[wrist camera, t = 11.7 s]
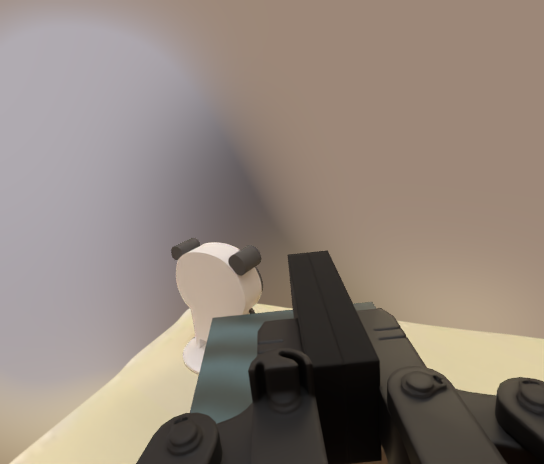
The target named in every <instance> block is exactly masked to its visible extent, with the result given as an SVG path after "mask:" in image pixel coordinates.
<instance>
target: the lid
mask: <svg viewBox="0 0 544 464" xmlns="http://www.w3.org/2000/svg"><path fill="white" fill-rule="evenodd" d="M353 305H354V307H355V309H356V311H357V310H367V309H376V307H375V306H374V304H373V302H366V303H356V304H353ZM292 318H294V316H293V310H285V311H275V312H265V313H255V314H245V315H235V316H225V317H215V318H212V322H211V326H210V330H209V335H208V339H207V343H206V347H205V351H204V356H203V360H202V364H201V368H200V372H199V376H198V381H197V385H196V389H195V393H194V397H193V402H192V406H191V410H190V413H197V412H198V413H202V414H205V415H208V416H210V417H211V418H212V419H213V420H214V421H216V424H217V423H220V422H222V421H225V420H228V419H230V418H232V417H234V416H237V415H239V414H240V413H241V412H243V411H244V410H246V409H247V408H248V406H249V405H250V404H251V403H252V395H251V388H250V381H249V374H248V369H249V366H250V364H251V362H252V361H253V360H254V359H255V358H256V357H257V345H258V344H257V334H258V330H259V329H260V327H261V326H262V324H263V323H264V321H273V320H282V319H292Z"/></svg>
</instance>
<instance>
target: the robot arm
mask: <svg viewBox="0 0 544 464" xmlns="http://www.w3.org/2000/svg"><path fill="white" fill-rule="evenodd" d="M288 264H289V273H290V284H291V295H292V305H293V316H294V318H292V319H282V320H273V321H264V323H263V324H262V326H261V327H260V329H259V330H258V334H257V344H258V345H257V357H256V358H255V359H254V360H253V361H252V362H251V364H250V366H249V369H248V374H249V381H250V388H251V395H252V403H251V404H250V405H249V406H248V408H247V409H246V410H244V411H243V412H241V413H240V414H239V415H237V416H234V417H232V418H230V419H228V420H225V421H222V422H220V423H217V424H216V421H214V420H213V419H212V418H211V417H210V416H208V415H205V414H202V413H198V412H197V413H185V414H182V415H179V416H177V417H174V418H172V419H171V420H169V421H168V422H166V423H165V424H163V425H162V426H161V427H160V428H159V429H158V431H157V432H156V433H155V434H154V435H153V437H152V439H151V440H150V442H149V443H148V445H147V447H146V448H145V450H144V452H143V453H142V455H141V457H140V458H139V460H138V461H137V463H136V464H353V463H363V462H373V461H382V453H381V444H382V447H383V449H384V452H385V455H386V458H387V460H388V464H544V382H543V381H540V380H537V379H531V378H522V377H519V378H511V379H507V380H506V381H504V382H502V383H500V385H499V388H498V390H497V396H495V395H487V394H480V393H472V392H467V391H462V390H458V389H455V388H454V386H453V385H452V383H451V382H450V381H449V380H448V379H447V378H446V377H445V376H444V375H442V374H440V373H438V372H436V371H435V370H433V369H429V368H427V367H426V366H425V364H424V362H423V361H422V359H421V358H420V356H419V355H418V353H417V352H416V350H415V348H414V347H413V345H412V344H411V342H410V341H409V339H408V338H406V335H405V333H404V331H403V330H402V329H401V328H400V325H399V324H398V322H397V321H396V319H395V318H394V316H393V315H391V314H389V313H388V312H386V311H385V310H383V309H382V308H377V309H367V310H357V311H356V309H355V307H354V305H353V303H352V301H351V299H350V297H349V295H348V293H347V290H346V288H345V286H344V284H343V282H342V280H341V278H340V276H339V274H338V271H337V270H336V267H335V265H334V263H333V261H332V259H331V257H330V255H329V253H328V251H319V252H310V253H300V254H290V255H288Z"/></svg>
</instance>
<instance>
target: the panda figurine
mask: <svg viewBox="0 0 544 464" xmlns="http://www.w3.org/2000/svg"><path fill="white" fill-rule="evenodd" d="M171 253H172V257H173V258H174V259H175V260H178V262H177V267H176V281H177V287H178V289H179V292H180V294H181V297H182V298H183V300H184V302H185V303H186V304H187V306H188V307H189V308H190V309H191V313H192V318H193V324H194V330H195V337H194V338H192V339H191V340H190V341H189V342H188V344H187V345H186V346H185V348H184V351H183V360H184V363H185V365H186V366H187V367H188V368H189V369H190V370H191V371H193V372H195V373H198V374H199V372H200V368H201V364H202V360H203V356H204V351H205V347H206V343H207V339H208V335H209V330H210V326H211V322H212V318H215V317H225V316H235V315H245V314H255V312H254V310H253V309H252V307H253V306H254V305H255V304H256V303H257V302H258V300H259V298H260V296H261V293H262V291H263V282H262V279H261V275H260V273H259V271H258V269H257V268H256V267H255V266H257V265H258V264H259V263H260V262H261V255H260V252H259V251H258V249H257V248H256V247H254V246H252V245H248V246H247V247H245V248H243V249H242V250H239V249H238V248H236V247H234V246H231V245H228V244H224V243H205V244H203V245H201V246H200V243H199V241H198V240H197V239H196V238H191V239H189V240H187V241H185V242H183V243H180V244H178V245H176V246H174V247H173V248H172V250H171Z"/></svg>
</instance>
